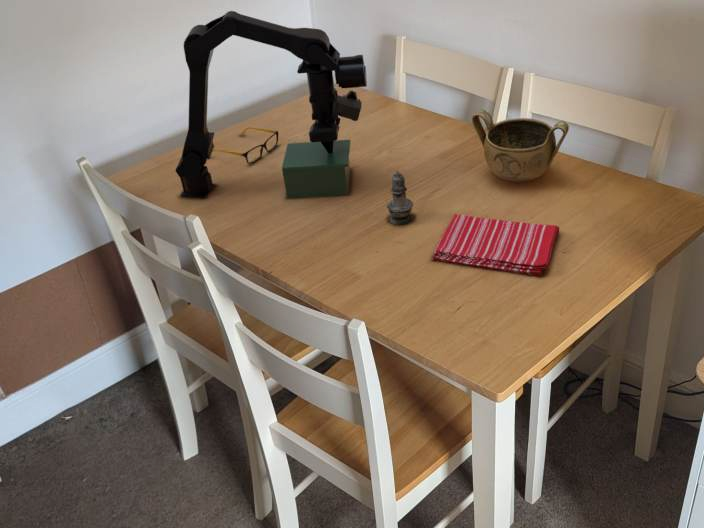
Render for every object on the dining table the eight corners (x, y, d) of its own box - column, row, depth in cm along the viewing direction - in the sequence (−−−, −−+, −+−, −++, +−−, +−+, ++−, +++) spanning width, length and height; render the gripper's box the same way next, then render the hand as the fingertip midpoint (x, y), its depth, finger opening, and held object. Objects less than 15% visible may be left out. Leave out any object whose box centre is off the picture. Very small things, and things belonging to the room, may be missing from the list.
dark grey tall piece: (395, 228, 176) (391, 179, 169) (383, 216, 180) (378, 169, 173) (418, 220, 178) (415, 171, 170) (406, 209, 182) (402, 161, 175)
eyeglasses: (249, 168, 204) (246, 153, 202) (207, 157, 211) (203, 143, 208) (283, 144, 213) (280, 130, 211) (241, 135, 220) (238, 121, 217)
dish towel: (545, 278, 157) (545, 266, 156) (430, 261, 165) (430, 250, 163) (561, 232, 169) (562, 221, 168) (454, 219, 177) (454, 208, 175)
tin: (350, 169, 199) (347, 142, 195) (348, 194, 189) (344, 167, 185) (292, 173, 200) (288, 146, 196) (287, 198, 190) (282, 171, 186)
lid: (350, 142, 195) (350, 139, 194) (348, 166, 185) (347, 163, 184) (288, 146, 196) (287, 143, 195) (282, 170, 186) (281, 167, 185)
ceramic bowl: (461, 184, 189) (460, 125, 180) (487, 152, 200) (487, 95, 191) (552, 200, 180) (556, 138, 171) (574, 166, 192) (579, 107, 182)
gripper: (355, 103, 172) (362, 168, 182) (359, 70, 187) (365, 132, 196) (304, 107, 173) (314, 172, 182) (311, 74, 187) (320, 136, 197)
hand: (330, 152), depth 189 cm, fingers closed, pressing on lid
